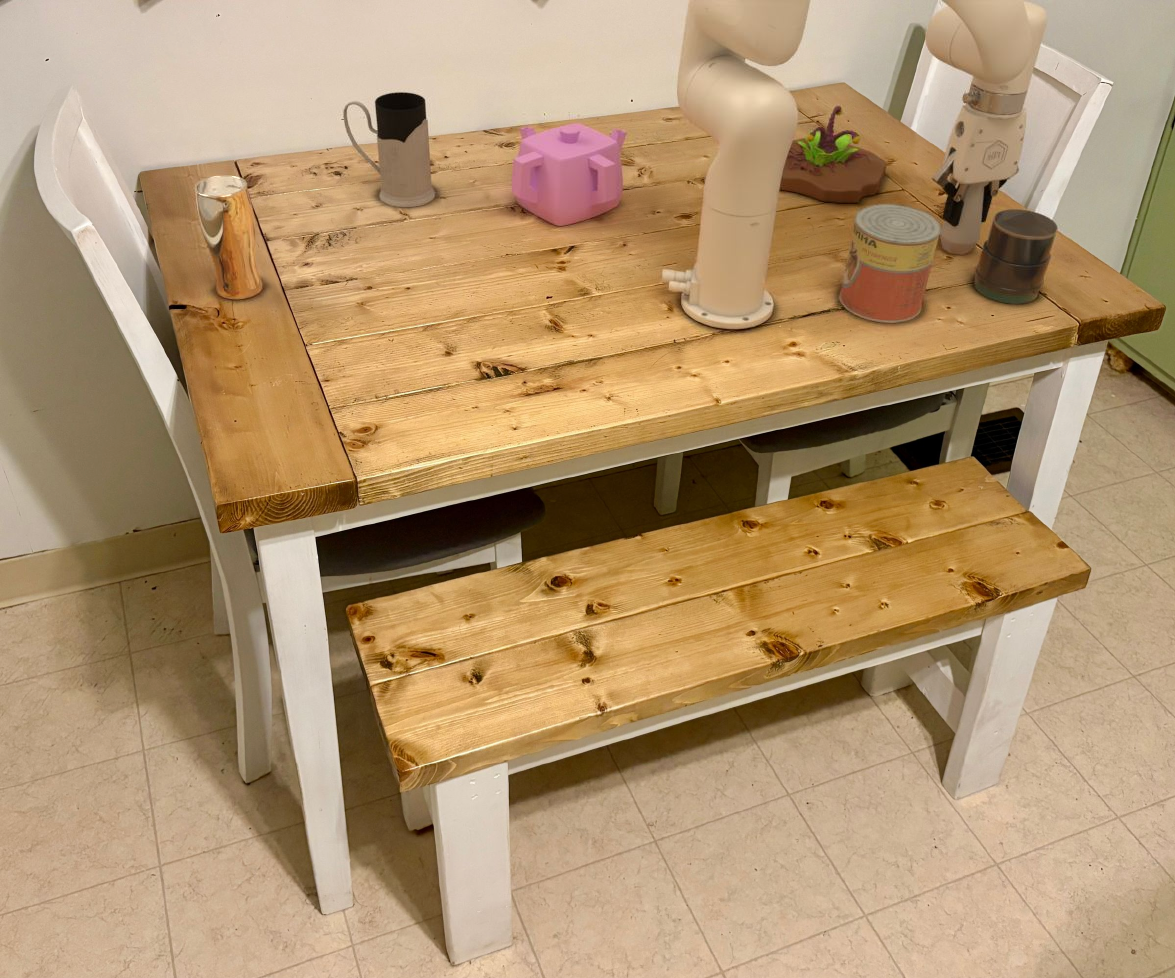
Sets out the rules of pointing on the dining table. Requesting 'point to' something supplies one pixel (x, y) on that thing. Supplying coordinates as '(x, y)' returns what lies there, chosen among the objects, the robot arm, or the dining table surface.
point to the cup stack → (1015, 256)
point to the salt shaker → (965, 222)
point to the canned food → (889, 262)
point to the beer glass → (229, 234)
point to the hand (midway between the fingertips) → (963, 219)
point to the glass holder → (400, 148)
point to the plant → (832, 166)
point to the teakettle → (568, 173)
